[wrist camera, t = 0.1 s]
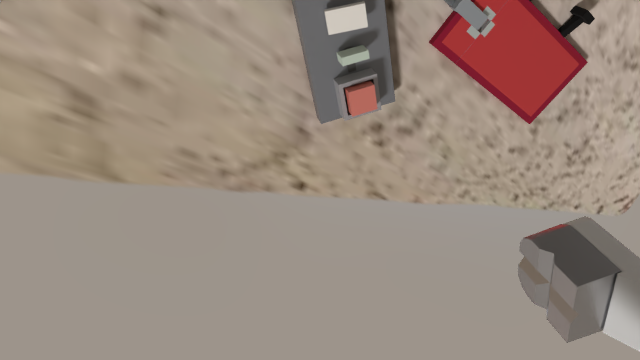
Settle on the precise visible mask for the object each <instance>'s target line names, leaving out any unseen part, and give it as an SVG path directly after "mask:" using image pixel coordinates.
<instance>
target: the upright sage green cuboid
mask: <svg viewBox="0 0 640 360" xmlns="http://www.w3.org/2000/svg"><path fill="white" fill-rule="evenodd" d="M336 53H337V58H338V61H339V62H340V63H341V65H342V66H346V65H349V64H353V63H356V62H360V61H363V60H366V59H370V58H369V51H368V49H367V48H365V47H364V46H363V45H360V46H357V47H353V48H350V49H346V50H343V51H339V52H336Z"/></svg>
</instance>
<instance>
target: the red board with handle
mask: <svg viewBox="0 0 640 360" xmlns="http://www.w3.org/2000/svg"><path fill="white" fill-rule="evenodd" d="M444 1H445V2H446V3H447V4H448V5H449V6H450V7H451V8H452V9H453V10H454V11H453V12H452V13H451V15H450V16H449V17H448V18H447V20H446V21H445V22H444V23H443V25H442V26H441V27H440V28H439V30H438V31H437V32H436V34H435V35H434V36H433V37H432V39H431V40H430V41H429V43H430V44H432V45H433V46H434V47H435V48H437V49H438V50H439V51H440V52H441V53H443V54H444V55H445V56H446V57H448V58H449V59H450V60H451V61H452V62H454V63H455V64H456V65H457V66H459V67H460V68H461V69H462V70H463V71H465V72H466V73H467V74H468V75H470V76H471V77H472V78H473V79H475V80H476V81H477V82H478V83H479V84H481V85H482V86H483V87H484V88H486V89H487V90H488V91H489V92H490V93H492V94H493V95H494V96H495V97H497V98H498V99H499V100H500V101H501V102H503V103H504V104H505V105H506V106H508V107H509V108H510V109H511V110H513V111H514V112H515V113H516V114H517V115H519V116H520V117H521V118H522V119H524V120H525V121H526V122H527V123H529V124H530V123H531V122H532V121H533V120H534V119H535V118H536V117H537V116H538V115H539V114H540V113H541V112H542V111H543V110H544V109H545V107H546V106H547V105H548V104H549V103H550V102H551V101H552V100H553V99H554V98H555V97H556V96H557V95H558V94H559V92H560V91H561V90H562V89H563V88H564V87H565V86H566V85H567V84H568V83H569V82H570V81H571V80H572V79H573V77H574V76H575V75H576V74H577V73H578V72H579V71H580V70H581V69H582V68H583V67H584V66H585V65H586V64H587V61H586V60H585V59H584V58H583V57H582V56H581V55H580V54H579V52H578V51H577V50H576V49H575V48H574V47H573V46H572V45H571V44H570V43H569V42H568V41H567V40H566V39H565V38H564V37H566V36H567V35H568V34H569V33H570V32H572V31H573V30H574V29H575V28H577V27H578V26H579V25H580V24H582V23H583V22H584V23H587V24H589V25H590V24H591V22H592V21H593V20H594V19H595V18H594V17H593V16H592V14H591V13H590V12H589V11H588V10H586V9H583V8H581V7H578V6H574V8H573V9H572V10H571V11H570V12H571V13H572V14H573V15H574V17H573V18H572V19H571V20H569V21H568V22H567V23H566V24H564V25H563V26H562V27H561V28H560V29H558V30H557V29H556V28H555V27H554V26H553V25H552V24H551V23H550V22H549V21H548V20H547V18H546V17H545V16H544V15H543V14H542V13H541V12H540V11H539V10H538V9H537V8H536V7H535V6H534V5H533V4H532V3H531V0H444ZM476 29H477V30H476Z"/></svg>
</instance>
